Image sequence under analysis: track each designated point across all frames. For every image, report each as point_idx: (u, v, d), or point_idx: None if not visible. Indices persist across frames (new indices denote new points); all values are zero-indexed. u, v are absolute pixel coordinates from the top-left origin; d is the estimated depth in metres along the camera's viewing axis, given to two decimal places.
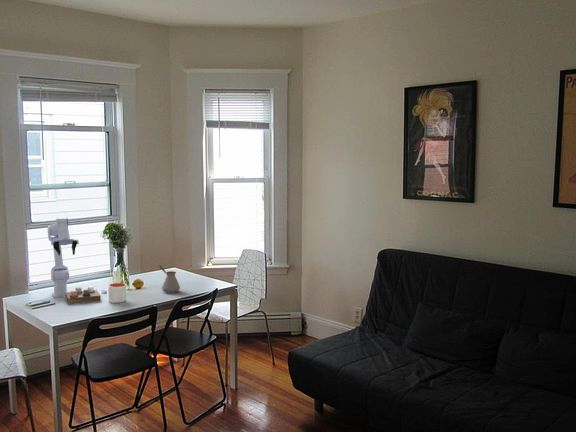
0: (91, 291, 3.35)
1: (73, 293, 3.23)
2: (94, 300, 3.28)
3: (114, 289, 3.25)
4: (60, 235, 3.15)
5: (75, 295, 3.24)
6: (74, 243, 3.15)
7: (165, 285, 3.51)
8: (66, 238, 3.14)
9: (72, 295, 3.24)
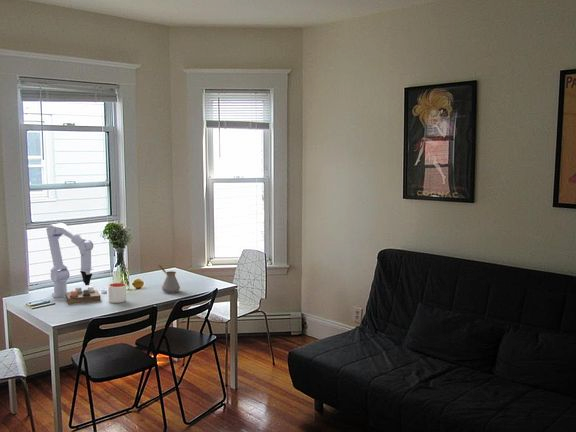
0: (91, 291, 3.35)
1: (73, 293, 3.23)
2: (94, 300, 3.28)
3: (114, 289, 3.25)
4: (89, 264, 3.25)
5: (75, 295, 3.24)
6: None
7: (165, 285, 3.51)
8: None
9: (72, 295, 3.24)
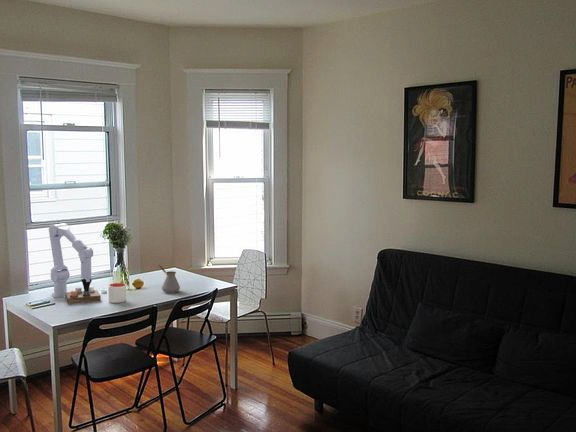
0: (91, 291, 3.35)
1: (73, 293, 3.23)
2: (94, 300, 3.28)
3: (114, 289, 3.25)
4: (89, 271, 3.26)
5: (75, 295, 3.24)
6: None
7: (165, 285, 3.51)
8: None
9: (72, 295, 3.24)
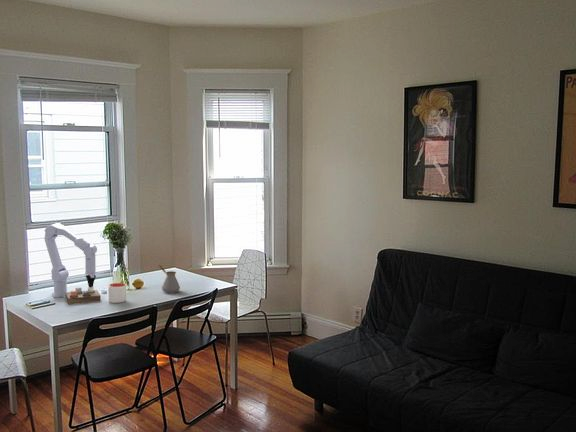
0: (91, 291, 3.35)
1: (73, 293, 3.23)
2: (94, 300, 3.28)
3: (114, 289, 3.25)
4: (94, 268, 3.33)
5: (75, 295, 3.24)
6: None
7: (165, 285, 3.51)
8: None
9: (72, 295, 3.24)
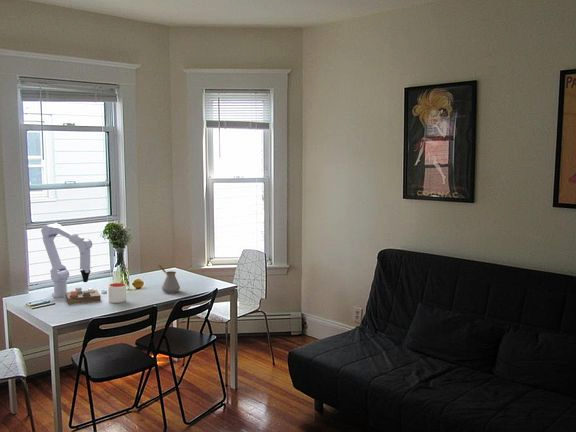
0: None
1: (73, 293, 3.23)
2: (94, 300, 3.28)
3: (114, 289, 3.25)
4: (88, 262, 3.29)
5: (75, 295, 3.24)
6: None
7: (165, 285, 3.51)
8: None
9: (72, 295, 3.24)
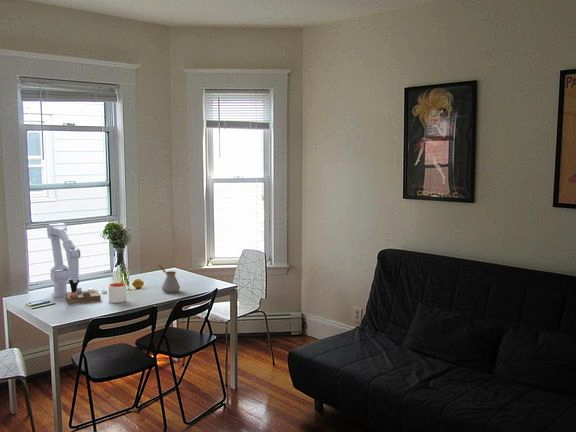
0: None
1: (73, 294, 3.23)
2: (94, 300, 3.28)
3: (114, 289, 3.25)
4: (77, 272, 3.22)
5: (75, 296, 3.24)
6: None
7: (165, 285, 3.51)
8: None
9: (72, 296, 3.24)
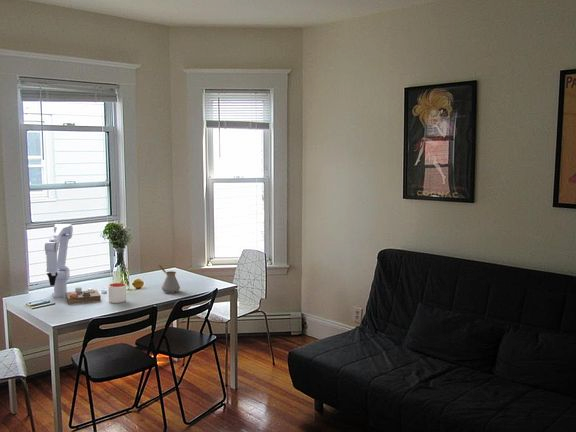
0: None
1: (73, 295, 3.24)
2: (94, 300, 3.28)
3: (114, 289, 3.25)
4: (55, 265, 3.19)
5: None
6: None
7: (165, 285, 3.51)
8: None
9: (72, 297, 3.24)
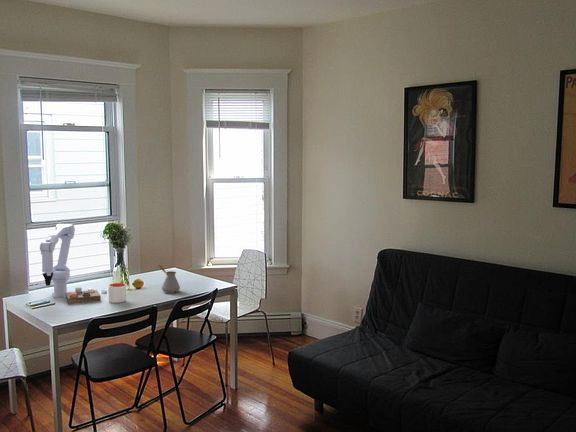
0: None
1: (73, 295, 3.24)
2: (94, 300, 3.28)
3: (114, 289, 3.25)
4: (51, 265, 3.19)
5: None
6: None
7: (165, 285, 3.51)
8: None
9: (72, 297, 3.24)
